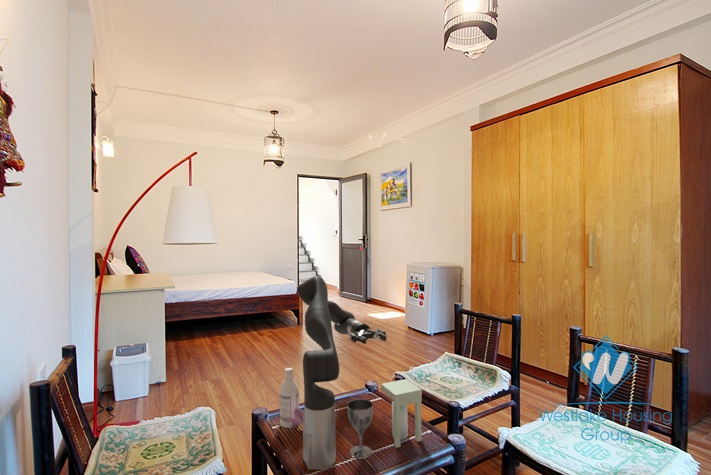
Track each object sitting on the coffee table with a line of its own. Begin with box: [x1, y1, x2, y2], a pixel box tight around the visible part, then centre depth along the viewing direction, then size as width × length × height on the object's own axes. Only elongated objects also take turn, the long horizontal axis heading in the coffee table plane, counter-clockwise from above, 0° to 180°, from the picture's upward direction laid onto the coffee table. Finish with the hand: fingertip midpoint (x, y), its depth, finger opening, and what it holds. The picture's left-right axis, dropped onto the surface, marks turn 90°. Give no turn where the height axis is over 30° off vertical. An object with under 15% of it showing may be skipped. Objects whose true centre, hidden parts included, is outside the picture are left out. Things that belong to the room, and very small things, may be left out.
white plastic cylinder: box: [391, 401, 409, 441], centre depth 123 cm, size 5×5×11 cm
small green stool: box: [380, 378, 423, 448], centre depth 122 cm, size 10×10×17 cm
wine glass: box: [347, 398, 374, 460], centre depth 114 cm, size 8×8×15 cm
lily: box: [285, 408, 305, 429], centre depth 126 cm, size 12×12×10 cm
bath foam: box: [279, 367, 300, 429], centre depth 132 cm, size 7×7×20 cm
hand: (375, 339), depth 140 cm, fingers open, 8 cm apart
